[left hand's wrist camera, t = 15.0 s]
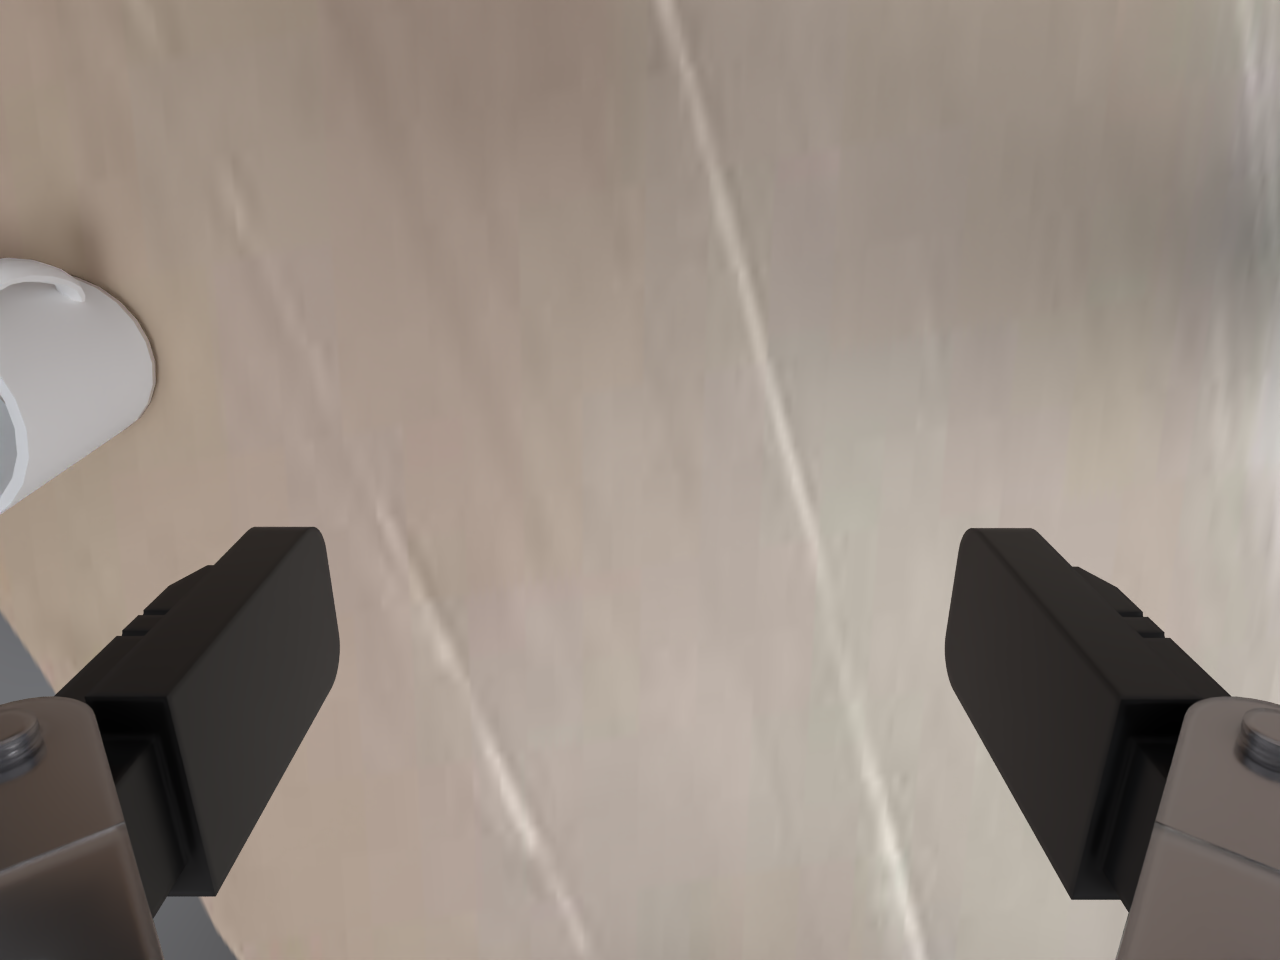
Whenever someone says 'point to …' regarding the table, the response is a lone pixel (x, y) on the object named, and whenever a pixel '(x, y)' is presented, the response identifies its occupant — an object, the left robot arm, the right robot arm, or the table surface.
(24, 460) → the mug
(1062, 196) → the table surface
